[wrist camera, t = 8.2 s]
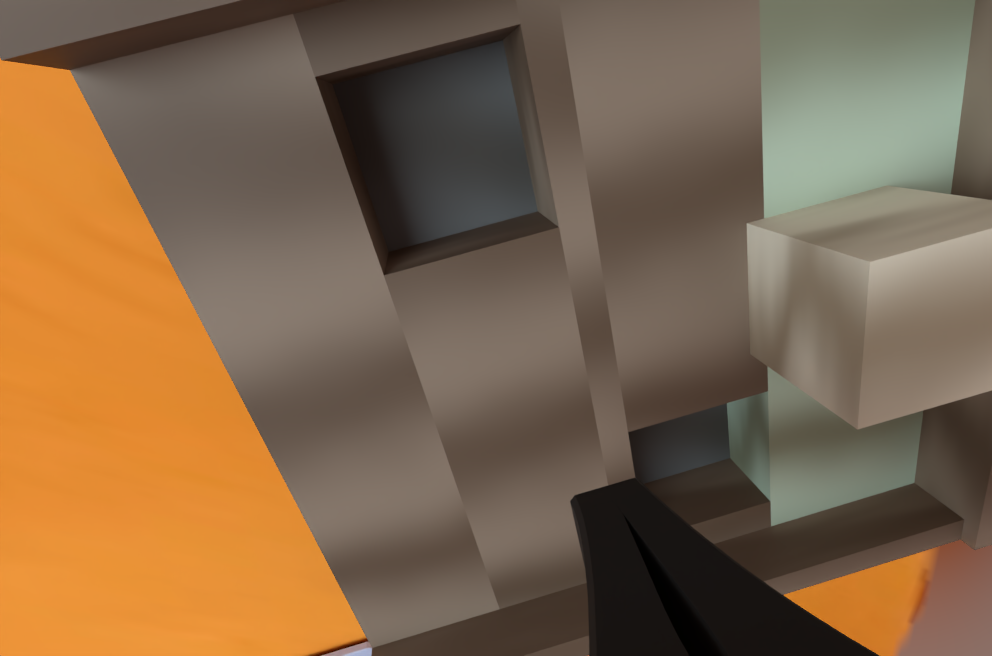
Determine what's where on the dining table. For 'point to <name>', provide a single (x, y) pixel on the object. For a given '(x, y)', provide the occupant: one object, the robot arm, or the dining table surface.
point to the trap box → (536, 271)
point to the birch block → (875, 300)
